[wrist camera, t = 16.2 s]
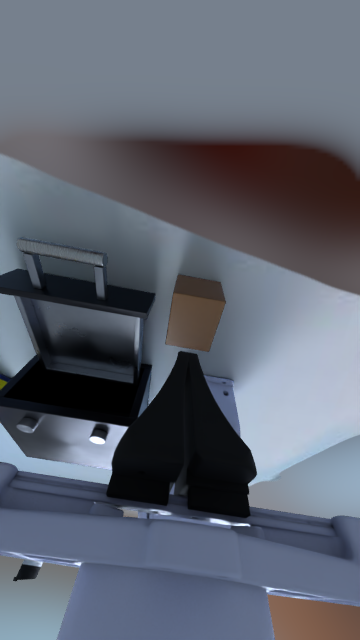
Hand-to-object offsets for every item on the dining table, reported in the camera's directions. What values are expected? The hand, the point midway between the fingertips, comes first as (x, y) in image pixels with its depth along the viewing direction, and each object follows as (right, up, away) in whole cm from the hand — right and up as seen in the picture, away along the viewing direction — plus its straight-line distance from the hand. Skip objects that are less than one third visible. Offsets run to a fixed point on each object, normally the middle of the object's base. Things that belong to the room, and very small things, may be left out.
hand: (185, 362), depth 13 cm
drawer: (-11, +4, +9) cm, 15 cm away
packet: (+1, +5, +8) cm, 9 cm away
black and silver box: (-14, -8, +18) cm, 24 cm away
